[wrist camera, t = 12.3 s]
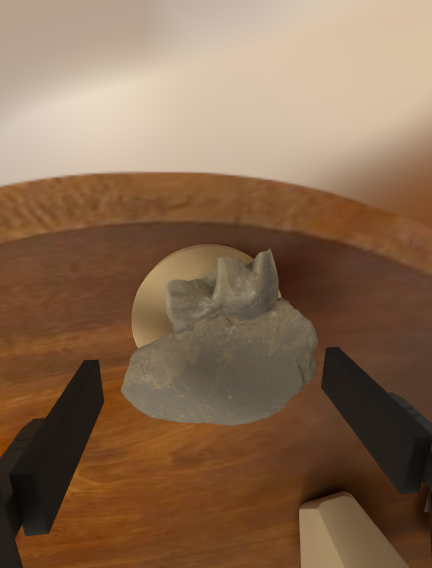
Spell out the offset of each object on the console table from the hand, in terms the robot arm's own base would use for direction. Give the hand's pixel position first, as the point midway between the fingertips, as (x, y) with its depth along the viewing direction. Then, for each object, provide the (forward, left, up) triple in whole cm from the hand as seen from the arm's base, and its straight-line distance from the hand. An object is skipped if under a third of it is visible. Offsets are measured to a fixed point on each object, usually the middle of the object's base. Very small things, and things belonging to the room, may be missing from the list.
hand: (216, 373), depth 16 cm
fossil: (0, 0, -8) cm, 8 cm away
